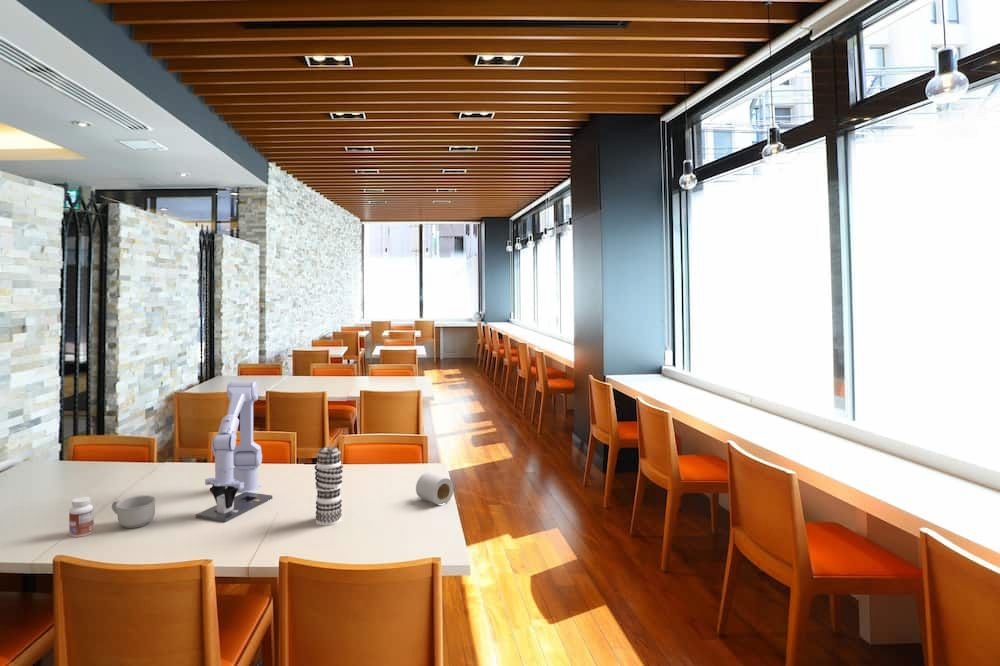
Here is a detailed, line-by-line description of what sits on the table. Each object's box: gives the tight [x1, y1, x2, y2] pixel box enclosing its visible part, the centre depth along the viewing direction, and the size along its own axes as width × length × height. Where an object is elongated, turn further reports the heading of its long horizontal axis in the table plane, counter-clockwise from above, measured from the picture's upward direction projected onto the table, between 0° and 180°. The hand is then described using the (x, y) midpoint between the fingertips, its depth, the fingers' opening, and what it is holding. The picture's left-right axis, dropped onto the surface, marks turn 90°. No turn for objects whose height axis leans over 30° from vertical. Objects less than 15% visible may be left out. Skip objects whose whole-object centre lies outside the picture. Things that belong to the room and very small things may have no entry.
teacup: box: [111, 494, 156, 529], centre depth 188 cm, size 14×11×8 cm
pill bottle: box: [68, 496, 95, 538], centre depth 180 cm, size 6×6×11 cm
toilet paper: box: [415, 472, 454, 506], centre depth 215 cm, size 10×10×10 cm
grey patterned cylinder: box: [314, 446, 344, 526], centre depth 194 cm, size 9×9×25 cm
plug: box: [216, 494, 234, 514], centre depth 198 cm, size 3×4×7 cm
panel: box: [195, 492, 273, 523], centre depth 204 cm, size 12×24×2 cm, turn 164°
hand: (224, 506), depth 198 cm, fingers closed on plug, 3 cm apart
